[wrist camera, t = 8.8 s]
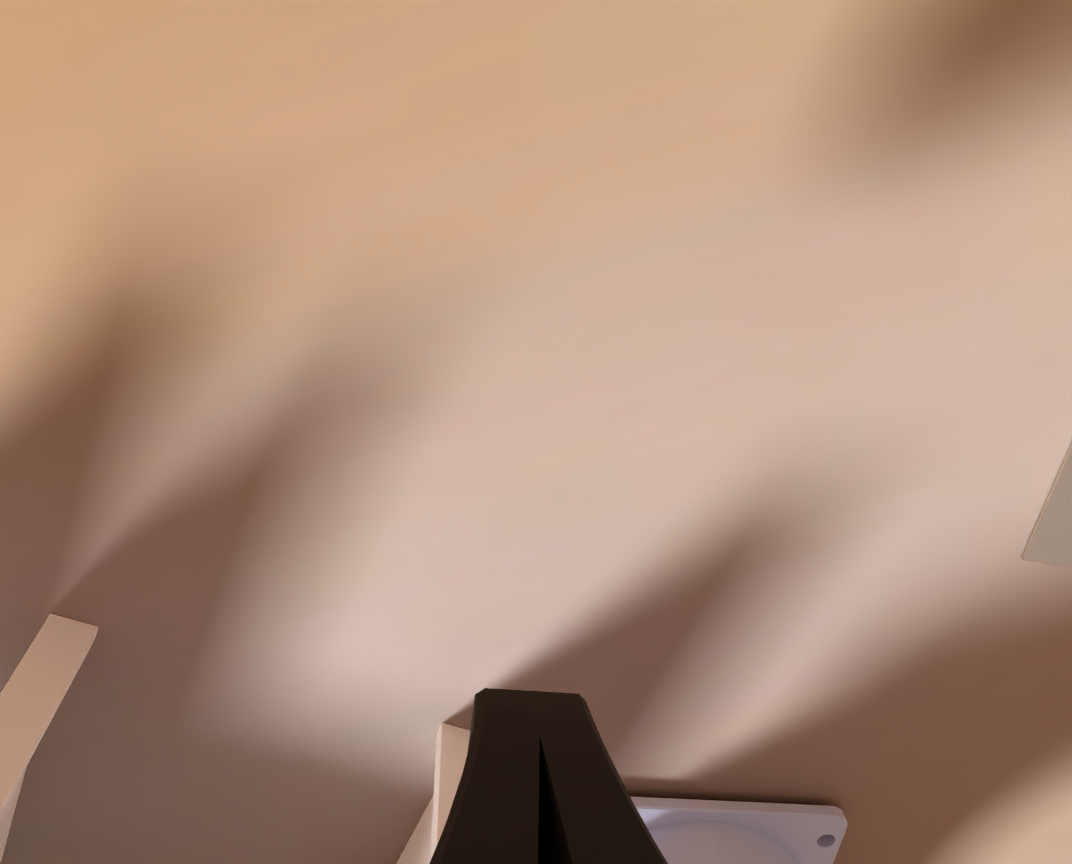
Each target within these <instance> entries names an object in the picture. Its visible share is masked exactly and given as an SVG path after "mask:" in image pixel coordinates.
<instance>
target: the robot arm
mask: <svg viewBox="0 0 1072 864" xmlns="http://www.w3.org/2000/svg"><path fill="white" fill-rule="evenodd" d="M847 826H848V822H847V820H846V818H845V815H844V813H843V811H842V810H841V809H840V808H838V807H834V806H826V805H804V804H782V803H760V802H739V801H717V800H695V799H673V798H652V797H630V796H629V794H628V792H627V790H626V788H625V786H624V784H623V782H622V781H621V779H620V776H619V774H618V772H617V770H616V768H615V766H614V764H613V762H612V760H611V758H610V756H609V754H608V752H607V750H606V748H605V746H604V743H603V741H602V739H601V737H600V735H599V732H598V730H597V728H596V725H595V723H594V721H593V718H592V716H591V714H590V711H589V709H588V706H587V703H586V701H585V700H584V699H583V698H582V697H581V696H580V695H579V694H571V693H554V692H538V691H521V690H505V689H488V688H485V689H483V690H482V691H480V692H479V693H477V694H475V700H474V707H473V715H472V722H471V730H470V737H469V744H468V752H467V757H466V761H465V765H464V769H463V773H462V776H461V779H460V782H459V785H458V788H457V791H456V794H455V797H454V800H453V803H452V806H451V809H450V812H449V815H448V818H447V821H446V824H445V826H444V829H443V832H442V834H441V837H440V839H439V842H438V844H437V846H436V849H435V851H434V854H433V856H432V859H431V861H430V863H429V864H833V862H834V860H835V857H836V855H837V852H838V850H839V847H840V845H841V842H842V840H843V837H844V835H845V832H846V830H847Z"/></svg>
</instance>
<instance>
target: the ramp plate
mask: <svg viewBox="0 0 1072 864" xmlns="http://www.w3.org/2000/svg"><path fill="white" fill-rule="evenodd" d="M1021 558H1022V559H1023V560H1027V561H1034V562H1041V563H1048V564H1055V565H1062V566H1069V567H1072V443H1071V446H1070V448H1069V450H1068V452H1067V455H1066V457H1065V459H1064V462H1063V464H1062V466H1061V468H1060V471H1059V473H1058V475H1057V477H1056V480H1055V482H1054V484H1053V487H1052V489H1051V491H1050V493H1049V496H1048V498H1047V500H1046V503H1045V505H1044V507H1043V509H1042V512H1041V514H1040V516H1039V519H1038V521H1037V523H1036V525H1035V528H1034V530H1033V532H1032V535H1031V537H1030V539H1029V541H1028V544H1027V546H1026V548H1025V551H1024V553H1023V555H1022V557H1021Z"/></svg>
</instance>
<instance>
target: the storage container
mask: <svg viewBox="0 0 1072 864" xmlns="http://www.w3.org/2000/svg"><path fill="white" fill-rule="evenodd" d="M98 628H99V627H97V626H93V625H90V624H86V623H82V622H79V621H75V620H72V619H68V618H64V617H61V616H57V615H54V614H50V615H49V616H48V618H47V620H46V621H45V623H44V624H43V626H42V628H41V629H40V631H39V632H38V634H37V636H36V637H35V639H34V640H33V642H32V644H31V645H30V647H29V648H28V650H27V652H26V653H25V655H24V656H23V658H22V660H21V661H20V663H19V664H18V666H17V668H16V669H15V671H14V672H13V674H12V676H11V677H10V679H9V680H8V682H7V684H6V685H5V687H4V688H3V690H2V692H1V693H0V864H1V860H2V857H3V853H4V849H5V845H6V842H7V838H8V834H9V831H10V827H11V823H12V820H13V816H14V812H15V809H16V805H17V801H18V798H19V794H20V790H21V787H22V783H23V779H24V775H25V772H26V768H27V765H28V763H29V761H30V759H31V757H32V756H33V754H34V752H35V750H36V748H37V746H38V744H39V743H40V741H41V739H42V737H43V735H44V733H45V731H46V730H47V728H48V726H49V724H50V722H51V720H52V718H53V717H54V715H55V713H56V711H57V709H58V707H59V705H60V704H61V702H62V700H63V698H64V696H65V694H66V692H67V690H68V689H69V687H70V685H71V683H72V681H73V679H74V677H75V676H76V674H77V672H78V670H79V668H80V666H81V664H82V663H83V661H84V659H85V657H86V655H87V653H88V651H89V650H90V648H91V646H92V644H93V642H94V640H95V638H96V635H97V631H98ZM469 737H470V730H466V729H463V728H459V727H455V726H452V725H448V724H445V723H442V724H441V726H440V728H439V730H438V732H437V737H436V757H435V777H434V795H433V797H432V798H431V800H430V802H429V804H428V806H427V808H426V810H425V811H424V813H423V815H422V817H421V819H420V821H419V823H418V824H417V826H416V828H415V830H414V832H413V834H412V836H411V837H410V839H409V841H408V843H407V845H406V847H405V849H404V850H403V852H402V854H401V856H400V858H399V860H398V862H397V863H396V864H429V863H430V861H431V859H432V856H433V854H434V851H435V849H436V846H437V844H438V842H439V839H440V837H441V834H442V832H443V829H444V826H445V824H446V821H447V818H448V815H449V812H450V809H451V806H452V803H453V800H454V797H455V794H456V791H457V788H458V785H459V782H460V779H461V776H462V773H463V769H464V765H465V761H466V757H467V752H468V744H469Z"/></svg>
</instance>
